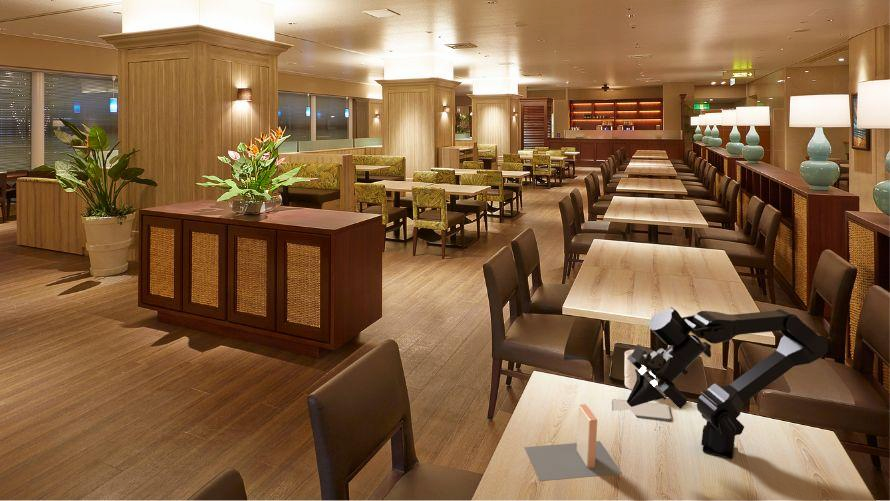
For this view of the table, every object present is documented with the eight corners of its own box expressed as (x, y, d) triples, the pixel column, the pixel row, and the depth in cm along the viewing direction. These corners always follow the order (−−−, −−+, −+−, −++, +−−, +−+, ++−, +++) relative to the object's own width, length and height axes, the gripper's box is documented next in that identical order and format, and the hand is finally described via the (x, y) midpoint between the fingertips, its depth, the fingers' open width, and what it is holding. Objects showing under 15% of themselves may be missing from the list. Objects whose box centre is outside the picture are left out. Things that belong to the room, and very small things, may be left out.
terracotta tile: (583, 449, 134) (585, 404, 131) (594, 467, 127) (597, 419, 124) (576, 450, 134) (578, 404, 131) (587, 468, 127) (589, 420, 124)
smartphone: (611, 398, 158) (668, 404, 154) (611, 401, 159) (668, 407, 155) (612, 413, 151) (671, 419, 147) (612, 416, 151) (671, 422, 147)
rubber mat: (599, 442, 138) (599, 441, 138) (622, 475, 125) (622, 473, 125) (524, 449, 135) (524, 447, 135) (539, 482, 123) (539, 480, 123)
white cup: (648, 381, 169) (651, 350, 167) (652, 393, 162) (654, 361, 159) (621, 378, 171) (623, 348, 169) (623, 390, 164) (625, 359, 161)
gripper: (637, 320, 134) (591, 365, 136) (678, 351, 116) (624, 403, 118) (665, 349, 137) (620, 393, 138) (709, 383, 119) (656, 434, 120)
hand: (628, 404), depth 129 cm, fingers closed
